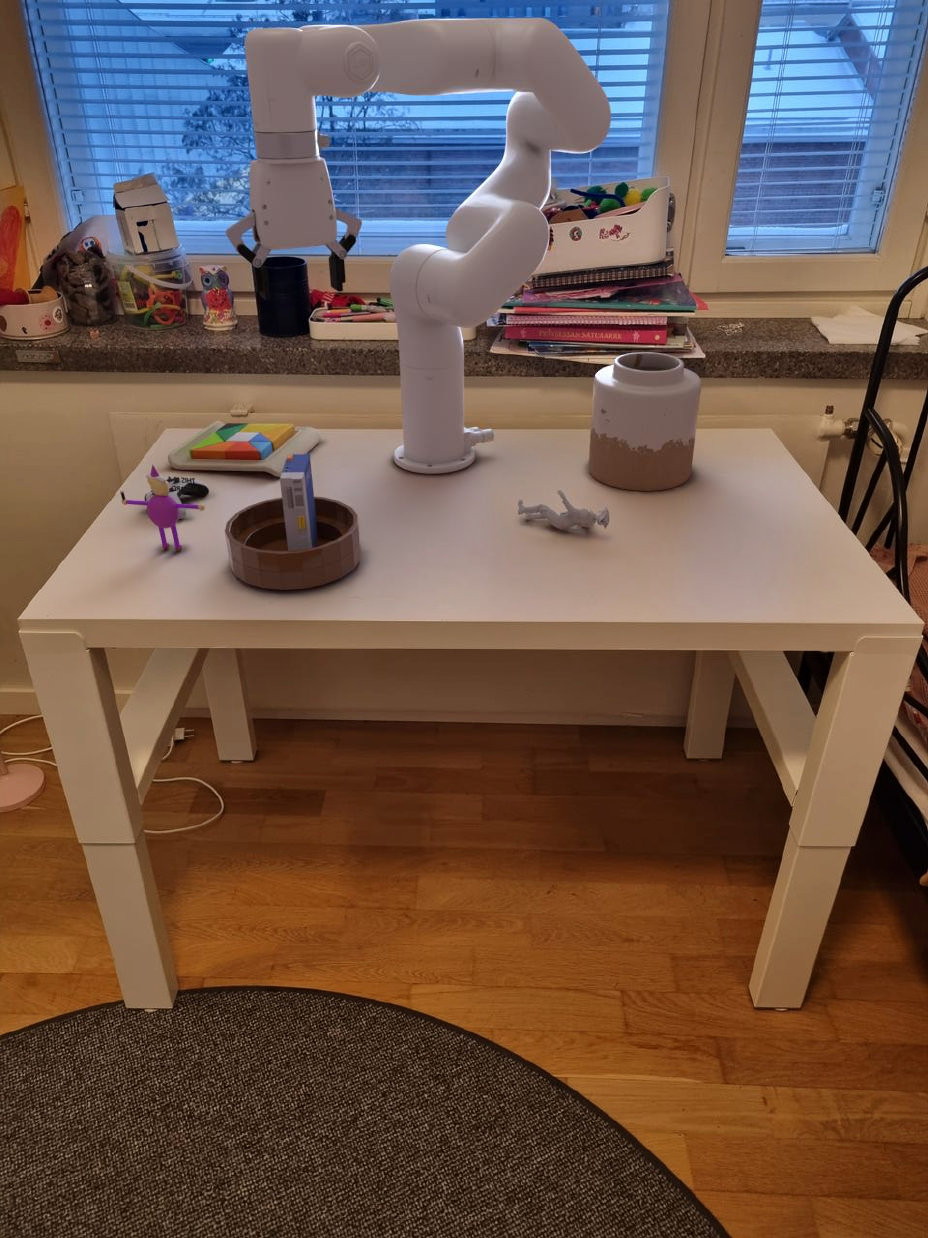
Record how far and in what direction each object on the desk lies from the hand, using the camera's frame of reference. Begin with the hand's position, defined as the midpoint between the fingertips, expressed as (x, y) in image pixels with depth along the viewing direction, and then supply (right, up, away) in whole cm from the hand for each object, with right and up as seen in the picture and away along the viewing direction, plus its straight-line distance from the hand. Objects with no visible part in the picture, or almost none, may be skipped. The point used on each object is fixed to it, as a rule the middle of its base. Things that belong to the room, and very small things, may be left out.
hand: (301, 293), depth 125 cm
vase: (+48, -20, +21) cm, 56 cm away
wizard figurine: (-17, -34, 0) cm, 38 cm away
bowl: (0, -35, -3) cm, 35 cm away
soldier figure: (+34, -30, +4) cm, 46 cm away
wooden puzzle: (-13, -16, +28) cm, 35 cm away
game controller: (-20, -26, +12) cm, 35 cm away
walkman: (+1, -34, -2) cm, 34 cm away
